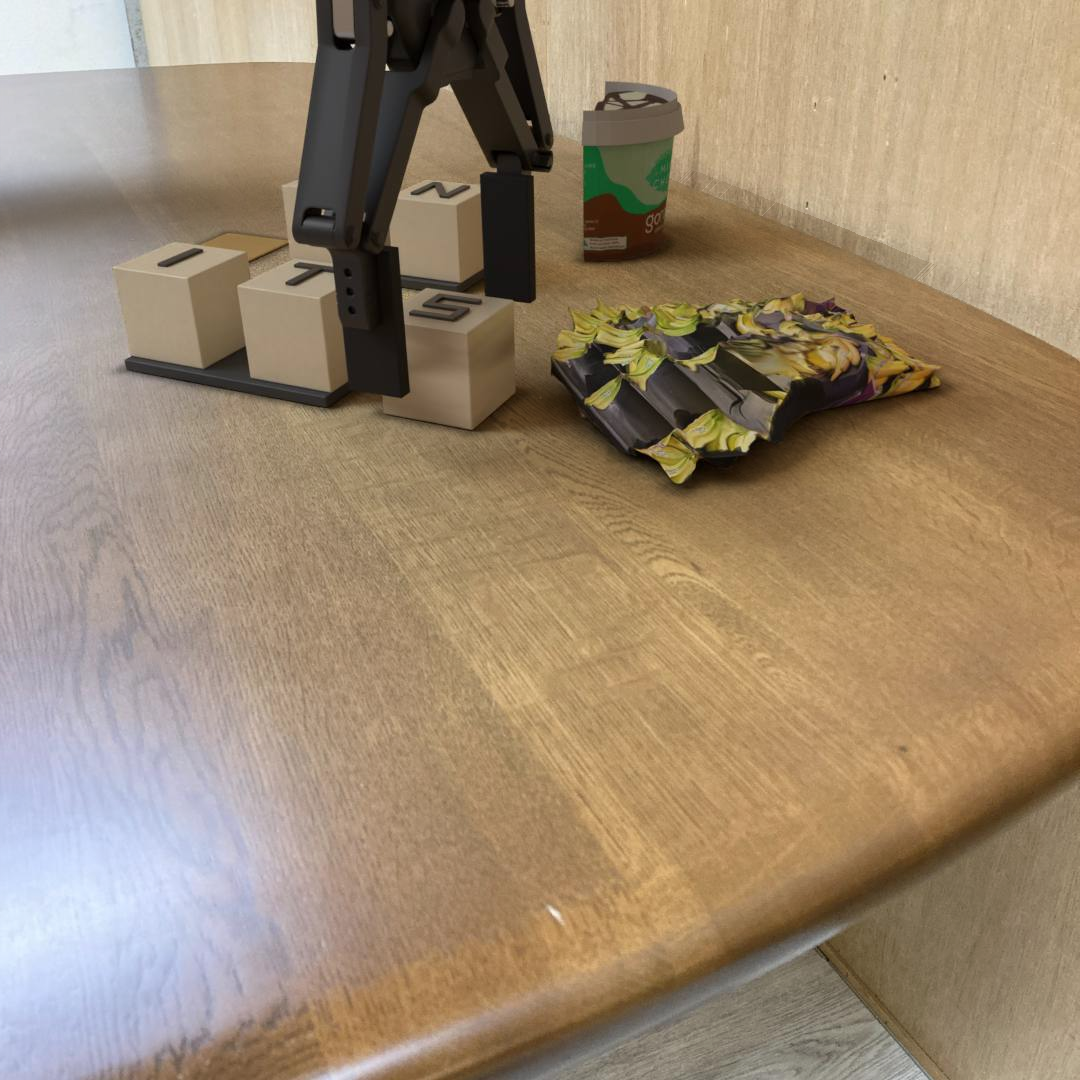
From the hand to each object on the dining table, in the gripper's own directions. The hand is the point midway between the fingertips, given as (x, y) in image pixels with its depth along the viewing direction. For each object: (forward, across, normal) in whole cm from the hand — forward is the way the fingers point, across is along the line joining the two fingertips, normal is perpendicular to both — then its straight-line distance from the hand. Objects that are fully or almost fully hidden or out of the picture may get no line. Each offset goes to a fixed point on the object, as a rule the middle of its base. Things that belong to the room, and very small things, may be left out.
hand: (451, 341), depth 56 cm
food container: (+4, +30, +1) cm, 30 cm away
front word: (+3, 0, +12) cm, 13 cm away
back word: (+3, +18, +19) cm, 26 cm away
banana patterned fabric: (+4, +7, -14) cm, 16 cm away
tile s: (+3, 0, 0) cm, 3 cm away
